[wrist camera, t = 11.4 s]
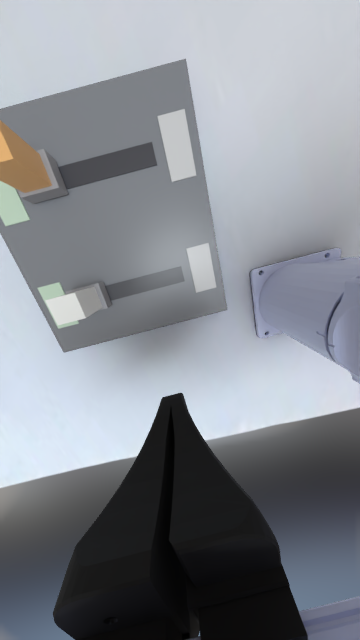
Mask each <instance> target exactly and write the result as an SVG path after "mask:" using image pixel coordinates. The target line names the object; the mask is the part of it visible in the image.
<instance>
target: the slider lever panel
mask: <svg viewBox="0 0 360 640" xmlns="http://www.w3.org/2000/svg"><path fill="white" fill-rule="evenodd" d="M0 120H1V121H2V122H3V123H4V124H5V125H7V126H8V127H9V128H10V129H11V130H12V131H13V132H15V133H16V134H17V135H18V136H19V137H20V138H21V139H23V140H24V141H25V142H26V143H27V144H28V145H30V146H31V147H32V148H33V149H34V150H35V151H38V150H41V149H44V150H45V151H47V152H48V153H49V154H50V155H51V156H52V157H53V158H54V159H55V161H56V163H57V166H58V169H59V171H60V174H61V176H62V179H63V181H64V184H65V187H66V189H67V192H68V195H64V196H60V197H56V198H53V199H49V200H45V201H41V202H38V203H34V204H33V203H31V202H29V201H27V200H24V199H22V198H21V197H20V195H19V193H18V191H17V189H16V188H14V187H12V186H10V185H8V184H6V183H4V182H2V181H0V233H1V235H2V237H3V239H4V241H5V243H6V245H7V246H8V248H9V250H10V252H11V254H12V256H13V258H14V260H15V262H16V263H17V265H18V267H19V269H20V271H21V273H22V275H23V277H24V278H25V280H26V282H27V284H28V286H29V288H30V290H31V292H32V294H33V295H34V297H35V299H36V301H37V303H38V305H39V307H40V309H41V311H42V312H43V314H44V316H45V318H46V320H47V322H48V324H49V326H50V328H51V329H52V331H53V333H54V335H55V337H56V339H57V341H58V343H59V344H60V346H61V348H62V350H63V352H68V351H72V350H76V349H79V348H83V347H87V346H91V345H95V344H99V343H102V342H106V341H110V340H114V339H118V338H122V337H125V336H129V335H133V334H137V333H141V332H145V331H148V330H152V329H156V328H160V327H164V326H168V325H171V324H175V323H179V322H183V321H187V320H191V319H194V318H198V317H202V316H206V315H210V314H214V313H217V312H221V311H225V310H227V305H226V299H225V293H224V287H223V281H222V275H221V269H220V263H219V257H218V251H217V245H216V238H215V232H214V226H213V220H212V214H211V208H210V202H209V196H208V190H207V184H206V178H205V172H204V166H203V160H202V154H201V148H200V142H199V136H198V130H197V123H196V117H195V111H194V105H193V99H192V93H191V87H190V81H189V75H188V69H187V63H186V59H183V60H179V61H176V62H172V63H168V64H165V65H161V66H157V67H154V68H150V69H146V70H142V71H139V72H135V73H131V74H128V75H124V76H120V77H117V78H113V79H109V80H106V81H102V82H98V83H94V84H91V85H87V86H83V87H80V88H76V89H72V90H69V91H65V92H61V93H57V94H54V95H50V96H46V97H43V98H39V99H35V100H32V101H28V102H24V103H20V104H17V105H13V106H9V107H6V108H2V109H0ZM100 282H103V283H104V285H105V288H106V290H107V293H108V296H109V298H110V301H111V303H112V306H110V307H109V308H107V309H103V310H99V311H96V312H95V313H93V314H91V315H90V316H88V317H87V318H85V319H81V320H77V321H73V322H69V323H65V324H62V325H57V323H56V321H55V319H54V317H53V315H52V313H51V311H50V309H49V307H48V305H47V303H46V301H45V300H48V299H52V298H55V297H58V296H62V295H65V294H66V291H70V290H74V289H77V288H81V287H85V286H89V285H93V284H96V283H100Z"/></svg>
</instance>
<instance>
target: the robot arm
mask: <svg viewBox="0 0 360 640" xmlns="http://www.w3.org/2000/svg"><path fill="white" fill-rule="evenodd" d="M325 254H326V257H325ZM260 270H261V271H262V273H261V275H259V271H260ZM250 277H251V286H252V295H253V304H254V313H255V321H256V330H257V336H258V337H259V338H265V337H269V336H273V335H277V334H281V333H285V334H287V335H288V336H290V337H292V338H293V339H295V340H297V341H299V342H300V343H302V344H304V345H305V346H307V347H309V348H311V349H312V350H314V351H316V352H317V353H319V354H321V355H323V356H324V357H326V358H328V359H330V360H331V361H333V362H335V363H336V364H338V365H340V366H342V367H343V368H345V369H347V370H348V371H349V372H350V373H351V375H352V379H353V380H355V381H356V382H358V383H360V257H344V258H341V250H340V248H333V249H329V250H325V251H321V252H317V253H314V254H310V255H306V256H302V257H298V258H295V259H291V260H287V261H283V262H279V263H276V264H272V265H268V266H264V267H260V268H256V269H253V270H252V271H251V273H250ZM266 331H267V333H266V334H265V332H266ZM53 617H54V621H55V623H56V625H57V626H58V627H59V628H61V629H62V630H63V631H65V632H66V633H67V634H69V635H70V636H71V637H73V638H74V639H75V640H360V596H359V597H355V598H351V599H347V600H343V601H339V602H335V603H331V604H327V605H323V606H319V607H315V608H311V609H307V610H303V611H298V609H297V606H296V603H295V601H294V598H293V595H292V593H291V590H290V587H289V582H288V579H287V577H286V574H285V572H284V569H283V566H282V564H281V558H280V550H279V545H278V543H277V540H276V538H275V536H274V534H273V532H272V530H271V528H270V527H269V525H268V523H267V522H266V520H265V519H264V517H263V515H262V514H261V512H260V511H259V509H258V508H257V506H256V505H255V504H254V502H253V500H252V499H251V497H250V496H249V495H248V494H247V493H246V492H245V491H244V490H243V489H242V488H241V486H240V485H239V484H238V483H237V482H236V481H235V480H234V479H233V477H232V476H231V475H230V474H229V473H228V471H227V470H226V469H225V468H224V467H223V465H222V464H221V462H220V461H219V460H218V459H217V457H216V456H215V455H214V453H213V452H212V451H211V449H210V448H209V446H208V445H207V443H206V442H205V440H204V439H203V437H202V436H201V434H200V432H199V431H198V429H197V427H196V426H195V424H194V422H193V420H192V418H191V416H190V414H189V412H188V409H187V406H186V402H185V399H184V396H183V394H182V393H178V394H174V395H170V396H167V397H163V398H162V399H161V403H160V406H159V409H158V412H157V414H156V417H155V419H154V422H153V424H152V427H151V429H150V432H149V434H148V436H147V438H146V440H145V443H144V445H143V447H142V449H141V451H140V453H139V454H138V456H137V458H136V460H135V462H134V464H133V465H132V467H131V469H130V470H129V472H128V474H127V475H126V477H125V479H124V480H123V482H122V484H121V485H120V487H119V488H118V490H117V491H116V493H115V494H114V495H113V497H112V498H111V500H110V501H109V503H108V504H107V506H106V507H105V509H104V510H103V511H102V513H101V514H100V515H99V517H98V518H97V519H96V521H95V522H94V523H93V524H92V526H91V527H90V528H89V530H88V531H87V532H86V534H85V535H84V536H83V537H82V539H81V540H80V541H79V542H78V544H77V545H76V547H75V550H74V552H73V555H72V558H71V560H70V563H69V565H68V568H67V571H66V574H65V577H64V580H63V584H62V587H61V590H60V593H59V596H58V599H57V602H56V605H55V608H54V611H53ZM199 631H200V636H199V637H198V635H199Z"/></svg>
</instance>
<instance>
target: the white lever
mask: <svg viewBox="0 0 360 640" xmlns="http://www.w3.org/2000/svg"><path fill="white" fill-rule="evenodd" d="M45 301H46V303H47V305H48V307H49V309H50V311H51V313H52V315H53V317H54V319H55V321H56V323H57V325H62V324H65V323H69V322H73V321H77V320H81V319H85V318H87V317H88V316H90V315H91V314H93V313H95V312H96V311H99V310H103V309H107V308H109V307H110V306H112V303H111V301H110V298H109V296H108V293H107V290H106V288H105V285H104V283H103V282H100V283H96V284H93V285H89V286H85V287H81V288H77V289H74V290H70V291H66V294H65V295H62V296H58V297H55V298H52V299H48V300H45Z"/></svg>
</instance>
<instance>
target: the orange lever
mask: <svg viewBox="0 0 360 640" xmlns="http://www.w3.org/2000/svg"><path fill="white" fill-rule="evenodd" d="M0 181H2V182H4V183H6V184H8V185H10V186H12V187H14V188H16V189H17V191H18V193H19V195H20V197H21V198H22V199H24V200H27V201H29V202H31V203H33V204H34V203H38V202H41V201H45V200H49V199H53V198H56V197H60V196H64V195H68V192H67V189H66V187H65V184H64V181H63V179H62V176H61V174H60V171H59V169H58V166H57V163H56V161H55V159H54V158H53V157H52V156H51V155H50V154H49V153H48V152H47V151H45V150H44V149H41V150H38V151H35V150H34V149H33V148H32V147H31V146H30V145H28V144H27V143H26V142H25V141H24V140H23V139H21V138H20V137H19V136H18V135H17V134H16V133H15V132H13V131H12V130H11V129H10V128H9V127H8V126H7V125H5V124H4V123H3V122H2V121H1V120H0Z"/></svg>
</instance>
